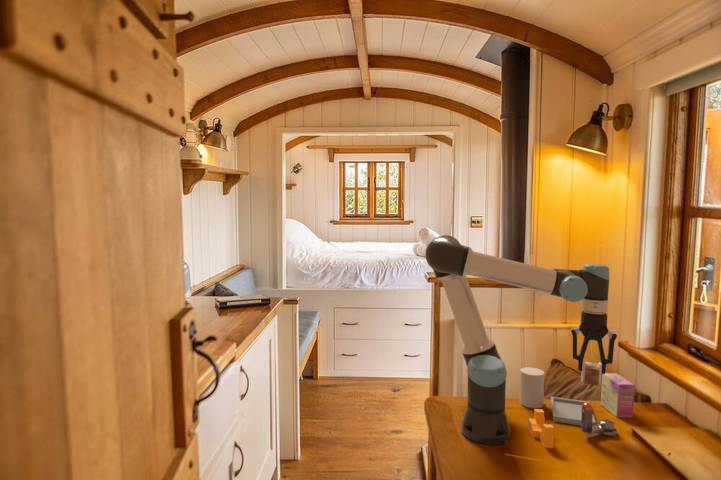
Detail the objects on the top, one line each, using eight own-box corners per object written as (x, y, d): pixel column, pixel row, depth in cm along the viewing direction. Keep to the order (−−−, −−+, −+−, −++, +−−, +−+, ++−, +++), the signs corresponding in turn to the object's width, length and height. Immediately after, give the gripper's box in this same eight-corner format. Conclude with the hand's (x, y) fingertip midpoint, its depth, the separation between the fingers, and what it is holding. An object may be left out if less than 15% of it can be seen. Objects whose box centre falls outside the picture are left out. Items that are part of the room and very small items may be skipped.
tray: (553, 421, 146) (553, 416, 146) (550, 401, 161) (550, 396, 161) (595, 427, 141) (595, 422, 141) (588, 406, 157) (588, 401, 157)
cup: (545, 401, 161) (546, 370, 160) (541, 410, 154) (542, 377, 153) (522, 396, 165) (523, 365, 164) (517, 404, 158) (518, 372, 158)
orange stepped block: (527, 427, 142) (528, 408, 141) (541, 428, 141) (542, 409, 141) (538, 447, 130) (538, 426, 129) (553, 448, 129) (554, 427, 129)
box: (633, 418, 148) (635, 384, 147) (616, 418, 148) (618, 384, 148) (616, 404, 159) (617, 372, 158) (600, 404, 159) (601, 372, 158)
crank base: (591, 430, 139) (591, 427, 139) (600, 425, 143) (601, 422, 143) (664, 459, 123) (664, 456, 123) (672, 453, 127) (672, 449, 127)
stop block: (584, 383, 142) (585, 365, 142) (583, 379, 146) (584, 361, 145) (598, 385, 140) (599, 367, 140) (597, 381, 144) (598, 363, 144)
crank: (604, 423, 142) (605, 394, 141) (617, 430, 138) (618, 399, 137) (576, 431, 136) (577, 401, 136) (589, 438, 132) (590, 406, 132)
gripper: (565, 311, 141) (562, 381, 143) (626, 317, 135) (622, 390, 136) (564, 306, 148) (561, 373, 150) (622, 311, 142) (619, 382, 143)
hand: (590, 381), depth 143 cm, fingers closed on stop block, 4 cm apart
